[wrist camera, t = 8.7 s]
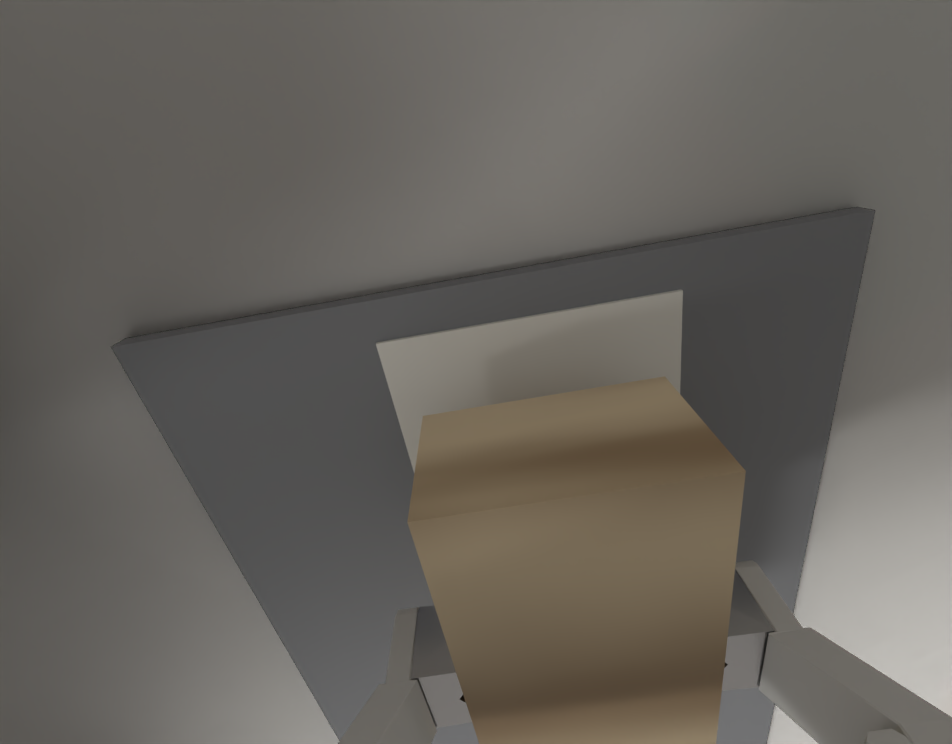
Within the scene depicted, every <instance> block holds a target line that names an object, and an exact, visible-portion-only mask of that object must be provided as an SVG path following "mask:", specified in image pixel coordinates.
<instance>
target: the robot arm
mask: <svg viewBox="0 0 952 744" xmlns="http://www.w3.org/2000/svg"><path fill="white" fill-rule="evenodd" d="M757 687H759V690H760V691H761V692H762V693H763V694H764V695H765V696H766V697H768V698H769V699H770V700H771V701H772V702H773V703H774V704H775V705H776V706H778V707H779V708H780V709H781V710H782V711H783V712H784V713H785V714H786V715H788V716H789V717H790V718H791V719H792V720H793V721H794V722H795V723H796V724H798V725H799V726H800V727H801V728H802V729H803V730H804V731H805V732H806V733H808V734H809V735H810V736H811V737H812V738H813V739H814V740H815V741H816V742H817V743H819V744H952V717H950V716H949V715H947V714H946V713H944V712H943V711H941V710H939V709H938V708H936V707H935V706H933V705H932V704H930V703H928V702H927V701H925V700H924V699H922V698H920V697H919V696H917V695H916V694H914V693H913V692H911V691H909V690H908V689H906V688H905V687H903V686H902V685H900V684H898V683H897V682H895V681H894V680H892V679H891V678H889V677H887V676H886V675H884V674H883V673H881V672H880V671H878V670H876V669H875V668H873V667H872V666H870V665H869V664H867V663H865V662H864V661H862V660H861V659H859V658H858V657H856V656H854V655H853V654H851V653H850V652H848V651H846V650H845V649H843V648H842V647H840V646H839V645H837V644H835V643H834V642H832V641H831V640H829V639H828V638H826V637H824V636H823V635H821V634H820V633H818V632H817V631H815V630H813V629H812V628H802V626H801V625H800V623H799V622H798V620H797V619H796V618H795V616H794V615H793V613H792V612H791V611H790V609H789V608H788V606H787V605H786V603H785V602H784V601H783V599H782V598H781V596H780V595H779V593H778V592H777V591H776V589H775V588H774V586H773V585H772V584H771V582H770V581H769V579H768V578H767V576H766V575H765V574H764V572H763V571H762V569H761V568H760V567H759V565H758V564H757V563H756V562H754V561H753V560H749V561H743V562H736V565H735V574H734V583H733V593H732V602H731V611H730V620H729V629H728V638H727V647H726V656H725V666H724V675H723V684H722V691H725V690H736V689H746V688H757ZM471 722H472V720H471V717H470V714H469V711H468V708H467V705H466V702H465V698H464V695H463V692H462V689H461V686H460V683H459V680H458V677H457V674H456V671H455V668H454V665H453V661H452V658H451V655H450V652H449V649H448V646H447V643H446V640H445V637H444V634H443V631H442V628H441V624H440V621H439V618H438V615H437V612H436V609H435V606H434V605H433V606H424V607H415V608H408V609H401V610H398V611H397V614H396V616H395V620H394V627H393V634H392V641H391V648H390V655H389V661H388V668H387V675H386V682H385V684H379V685H378V687H377V688H376V689H375V691H374V692H373V694H372V695H371V697H370V698H369V700H368V701H367V702H366V704H365V705H364V707H363V708H362V710H361V711H360V712H359V714H358V715H357V717H356V718H355V720H354V721H353V723H352V724H351V725H350V727H349V728H348V730H347V731H346V733H345V734H344V736H343V737H342V738H341V740H340V741H339V743H338V744H431V742H432V740H433V738H434V736H435V734H436V732H437V729H436V728H439V727H445V726H452V725H458V724H464V723H471Z"/></svg>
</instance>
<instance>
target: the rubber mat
mask: <svg viewBox="0 0 952 744" xmlns="http://www.w3.org/2000/svg"><path fill="white" fill-rule="evenodd" d="M874 214H875V210H872V209H866V208H860V207H854V208H849V209H843V210H838V211H832V212H826V213H821V214H815V215H810V216H804V217H799V218H793V219H788V220H782V221H776V222H771V223H765V224H760V225H754V226H749V227H743V228H737V229H732V230H726V231H721V232H715V233H710V234H704V235H699V236H693V237H687V238H682V239H676V240H671V241H665V242H660V243H654V244H649V245H643V246H637V247H632V248H626V249H621V250H615V251H610V252H604V253H598V254H593V255H587V256H582V257H576V258H571V259H565V260H560V261H554V262H548V263H543V264H537V265H532V266H526V267H521V268H515V269H510V270H504V271H498V272H493V273H487V274H482V275H476V276H471V277H465V278H460V279H454V280H448V281H443V282H437V283H432V284H426V285H421V286H415V287H409V288H404V289H398V290H393V291H387V292H382V293H376V294H371V295H365V296H359V297H354V298H348V299H343V300H337V301H332V302H326V303H321V304H315V305H309V306H304V307H298V308H293V309H287V310H282V311H276V312H270V313H265V314H259V315H254V316H248V317H243V318H237V319H232V320H226V321H220V322H215V323H209V324H204V325H198V326H193V327H187V328H182V329H176V330H170V331H165V332H159V333H154V334H148V335H143V336H137V337H131V338H126V339H124V340H122V341H120V342H118V343H117V344H115V345H113V346H112V347H111V348H112V350H113V352H114V353H115V355H116V357H117V359H118V360H119V362H120V364H121V365H122V367H123V369H124V371H125V372H126V374H127V376H128V377H129V379H130V381H131V383H132V384H133V386H134V388H135V390H136V391H137V393H138V395H139V396H140V398H141V400H142V402H143V403H144V405H145V407H146V408H147V410H148V412H149V414H150V415H151V417H152V419H153V421H154V422H155V424H156V426H157V427H158V429H159V431H160V433H161V434H162V436H163V438H164V439H165V441H166V443H167V445H168V446H169V448H170V450H171V452H172V453H173V455H174V457H175V458H176V460H177V462H178V464H179V465H180V467H181V469H182V470H183V472H184V474H185V476H186V477H187V479H188V481H189V482H190V484H191V486H192V488H193V489H194V491H195V493H196V495H197V496H198V498H199V500H200V501H201V503H202V505H203V507H204V508H205V510H206V512H207V513H208V515H209V517H210V519H211V520H212V522H213V524H214V526H215V527H216V529H217V531H218V532H219V534H220V536H221V538H222V539H223V541H224V543H225V544H226V546H227V548H228V550H229V551H230V553H231V555H232V556H233V558H234V560H235V562H236V563H237V565H238V567H239V569H240V570H241V572H242V574H243V575H244V577H245V579H246V581H247V582H248V584H249V586H250V587H251V589H252V591H253V593H254V594H255V596H256V598H257V600H258V601H259V603H260V605H261V606H262V608H263V610H264V612H265V613H266V615H267V617H268V618H269V620H270V622H271V624H272V625H273V627H274V629H275V631H276V632H277V634H278V636H279V637H280V639H281V641H282V643H283V644H284V646H285V648H286V649H287V651H288V653H289V655H290V656H291V658H292V660H293V661H294V663H295V665H296V667H297V668H298V670H299V672H300V674H301V675H302V677H303V679H304V680H305V682H306V684H307V686H308V687H309V689H310V691H311V692H312V694H313V696H314V698H315V699H316V701H317V703H318V705H319V706H320V708H321V710H322V711H323V713H324V715H325V717H326V718H327V720H328V722H329V723H330V725H331V727H332V729H333V730H334V732H335V734H336V736H337V737H338V739H339V741H340V740H341V738H342V737H343V736H344V734H345V733H346V731H347V730H348V728H349V727H350V725H351V724H352V723H353V721H354V720H355V718H356V717H357V715H358V714H359V712H360V711H361V710H362V708H363V707H364V705H365V704H366V702H367V701H368V700H369V698H370V697H371V695H372V694H373V692H374V691H375V689H376V688H377V687H378V685H379V684H385V682H386V675H387V668H388V661H389V655H390V648H391V641H392V634H393V627H394V620H395V616H396V614H397V611H398V610H401V609H408V608H415V607H424V606H433V605H434V603H433V600H432V597H431V594H430V591H429V587H428V584H427V581H426V578H425V575H424V572H423V569H422V566H421V563H420V560H419V557H418V554H417V550H416V547H415V544H414V541H413V538H412V535H411V532H410V529H409V526H408V523H407V521H408V514H409V507H410V500H411V494H412V487H413V480H414V473H415V466H416V459H417V452H418V446H419V439H420V432H421V425H422V418H423V416H426V415H432V414H438V413H444V412H450V411H456V410H462V409H469V408H475V407H481V406H487V405H493V404H499V403H505V402H511V401H517V400H523V399H530V398H536V397H542V396H548V395H554V394H560V393H566V392H572V391H578V390H585V389H591V388H597V387H603V386H609V385H615V384H621V383H627V382H633V381H639V380H646V379H652V378H658V377H664V376H665V377H666V378H667V379H668V381H669V382H670V383H671V384H672V385H673V386H674V388H675V389H676V390H677V391H678V392H679V393H680V395H681V396H682V397H683V398H684V399H685V401H686V402H687V403H688V404H689V405H690V406H691V408H692V409H693V410H694V411H695V412H696V413H697V415H698V416H699V417H700V418H701V419H702V420H703V422H704V423H705V424H706V425H707V426H708V427H709V429H710V430H711V431H712V432H713V433H714V434H715V436H716V437H717V438H718V439H719V440H720V441H721V443H722V444H723V445H724V446H725V447H726V448H727V450H728V451H729V452H730V453H731V454H732V455H733V457H734V458H735V459H736V460H737V461H738V462H739V464H740V465H741V466H742V467H743V468H744V469H745V471H746V474H745V483H744V492H743V501H742V510H741V519H740V529H739V538H738V547H737V556H736V562H743V561H749V560H753V561H754V562H756V563H757V564H758V565H759V567H760V568H761V569H762V571H763V572H764V574H765V575H766V576H767V578H768V579H769V581H770V582H771V584H772V585H773V586H774V588H775V589H776V591H777V592H778V593H779V595H780V596H781V598H782V599H783V601H784V602H785V603H786V605H787V606H788V608H789V609H790V611H791V612H792V613H793V611H794V606H795V601H796V596H797V591H798V586H799V581H800V577H801V572H802V567H803V562H804V557H805V552H806V547H807V542H808V537H809V532H810V528H811V523H812V518H813V513H814V508H815V503H816V498H817V493H818V488H819V483H820V479H821V474H822V469H823V464H824V459H825V454H826V449H827V444H828V439H829V434H830V430H831V425H832V420H833V415H834V410H835V405H836V400H837V395H838V390H839V385H840V381H841V376H842V371H843V366H844V361H845V356H846V351H847V346H848V341H849V337H850V332H851V327H852V322H853V317H854V312H855V307H856V302H857V297H858V292H859V288H860V283H861V278H862V273H863V268H864V263H865V258H866V253H867V248H868V243H869V239H870V234H871V229H872V224H873V219H874ZM773 709H774V703H773V702H772V701H771V700H770V699H769V698H768V697H766V696H765V695H764V694H763V693H762V692H761V691H760V690H759V687H757V688H746V689H736V690H725V691H722V693H721V702H720V711H719V720H718V730H717V739H716V744H766V743H767V738H768V733H769V728H770V724H771V719H772V714H773ZM436 729H437V732H436V734H435V736H434V738H433V740H432V742H431V744H479V742H478V739H477V735H476V732H475V729H474V726H473V723H472V722H471V723H464V724H458V725H452V726H445V727H439V728H436Z"/></svg>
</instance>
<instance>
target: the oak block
mask: <svg viewBox="0 0 952 744" xmlns="http://www.w3.org/2000/svg"><path fill="white" fill-rule="evenodd" d="M745 474H746V471H745V469H744V468H743V467H742V466H741V465H740V464H739V462H738V461H737V460H736V459H735V458H734V457H733V455H732V454H731V453H730V452H729V451H728V450H727V448H726V447H725V446H724V445H723V444H722V443H721V441H720V440H719V439H718V438H717V437H716V436H715V434H714V433H713V432H712V431H711V430H710V429H709V427H708V426H707V425H706V424H705V423H704V422H703V420H702V419H701V418H700V417H699V416H698V415H697V413H696V412H695V411H694V410H693V409H692V408H691V406H690V405H689V404H688V403H687V402H686V401H685V399H684V398H683V397H682V396H681V395H680V393H679V392H678V391H677V390H676V389H675V388H674V386H673V385H672V384H671V383H670V382H669V381H668V379H667V378H666V377H665V376H664V377H658V378H652V379H646V380H639V381H633V382H627V383H621V384H615V385H609V386H603V387H597V388H591V389H585V390H578V391H572V392H566V393H560V394H554V395H548V396H542V397H536V398H530V399H523V400H517V401H511V402H505V403H499V404H493V405H487V406H481V407H475V408H469V409H462V410H456V411H450V412H444V413H438V414H432V415H426V416H423V418H422V425H421V432H420V439H419V446H418V452H417V459H416V466H415V473H414V480H413V487H412V494H411V500H410V507H409V514H408V521H407V523H408V526H409V529H410V532H411V535H412V538H413V541H414V544H415V547H416V550H417V554H418V557H419V560H420V563H421V566H422V569H423V572H424V575H425V578H426V581H427V584H428V587H429V591H430V594H431V597H432V600H433V603H434V606H435V609H436V612H437V615H438V618H439V621H440V624H441V628H442V631H443V634H444V637H445V640H446V643H447V646H448V649H449V652H450V655H451V658H452V661H453V665H454V668H455V671H456V674H457V677H458V680H459V683H460V686H461V689H462V692H463V695H464V698H465V702H466V705H467V708H468V711H469V714H470V717H471V720H472V723H473V726H474V729H475V732H476V735H477V739H478V742H479V744H716V739H717V730H718V720H719V711H720V702H721V693H722V684H723V675H724V666H725V656H726V647H727V638H728V629H729V620H730V611H731V602H732V593H733V583H734V574H735V565H736V556H737V547H738V538H739V529H740V519H741V510H742V501H743V492H744V483H745Z"/></svg>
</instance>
